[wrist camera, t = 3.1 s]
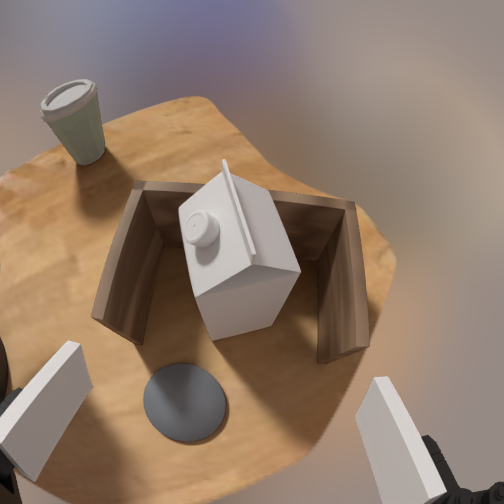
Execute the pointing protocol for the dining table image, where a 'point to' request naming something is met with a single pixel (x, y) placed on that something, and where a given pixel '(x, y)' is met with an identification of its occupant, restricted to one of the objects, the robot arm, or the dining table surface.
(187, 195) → the walnut cubby
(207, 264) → the milk carton
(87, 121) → the disposable coffee cup
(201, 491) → the dining table surface
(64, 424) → the robot arm
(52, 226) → the dining table surface
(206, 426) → the disc
